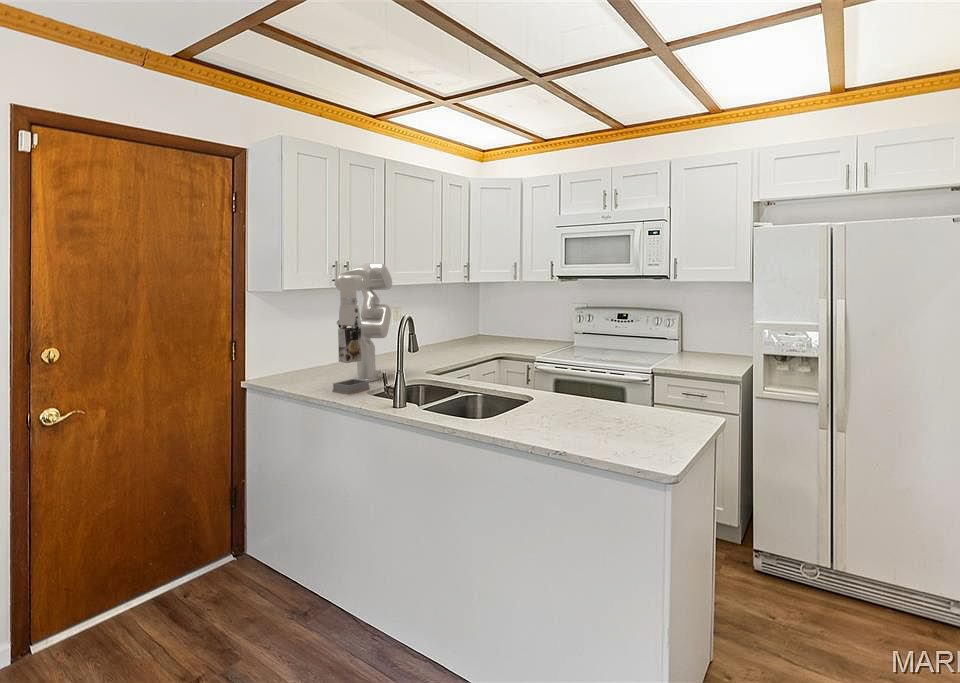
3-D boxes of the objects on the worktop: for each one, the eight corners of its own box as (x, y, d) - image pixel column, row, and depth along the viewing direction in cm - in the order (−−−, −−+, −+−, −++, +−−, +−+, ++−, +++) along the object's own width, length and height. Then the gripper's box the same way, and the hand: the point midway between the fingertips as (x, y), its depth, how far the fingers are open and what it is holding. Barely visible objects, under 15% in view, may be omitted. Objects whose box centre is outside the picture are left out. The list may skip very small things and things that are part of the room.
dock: (353, 386, 282) (353, 378, 281) (369, 389, 276) (369, 381, 275) (332, 391, 270) (332, 383, 270) (349, 394, 265) (349, 386, 264)
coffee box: (347, 363, 266) (346, 329, 264) (338, 362, 270) (337, 328, 268) (362, 360, 273) (361, 327, 271) (353, 359, 277) (352, 326, 275)
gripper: (367, 302, 266) (368, 339, 269) (341, 301, 276) (342, 337, 278) (356, 303, 260) (357, 341, 262) (329, 301, 269) (331, 339, 272)
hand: (349, 339), depth 270 cm, fingers closed on coffee box, 6 cm apart
